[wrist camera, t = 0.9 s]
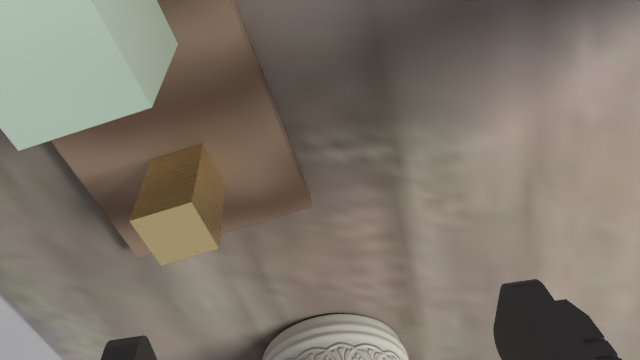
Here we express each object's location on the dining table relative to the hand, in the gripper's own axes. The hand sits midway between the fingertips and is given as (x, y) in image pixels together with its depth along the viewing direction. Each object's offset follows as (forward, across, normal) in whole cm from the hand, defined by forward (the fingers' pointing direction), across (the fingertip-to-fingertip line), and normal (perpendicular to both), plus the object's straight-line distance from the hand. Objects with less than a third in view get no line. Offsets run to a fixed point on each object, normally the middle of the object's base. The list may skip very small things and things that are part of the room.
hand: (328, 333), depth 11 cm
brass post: (+18, +6, +6) cm, 19 cm away
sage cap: (+17, +8, -4) cm, 20 cm away
